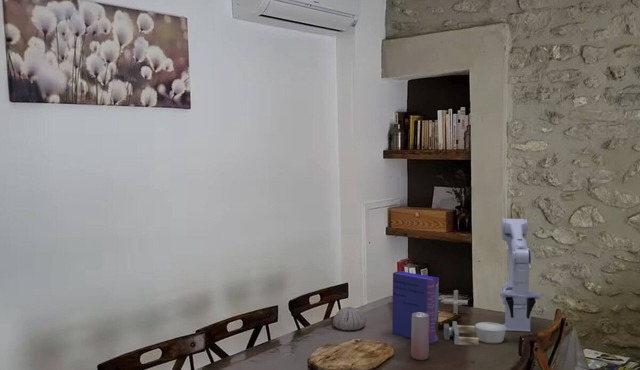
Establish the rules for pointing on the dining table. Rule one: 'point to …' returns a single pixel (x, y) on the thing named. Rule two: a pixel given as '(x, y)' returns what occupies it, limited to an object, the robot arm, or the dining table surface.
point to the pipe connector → (455, 302)
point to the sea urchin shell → (349, 319)
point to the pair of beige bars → (467, 339)
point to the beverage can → (420, 336)
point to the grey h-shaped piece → (451, 332)
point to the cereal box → (414, 302)
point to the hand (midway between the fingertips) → (519, 317)
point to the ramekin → (490, 332)
